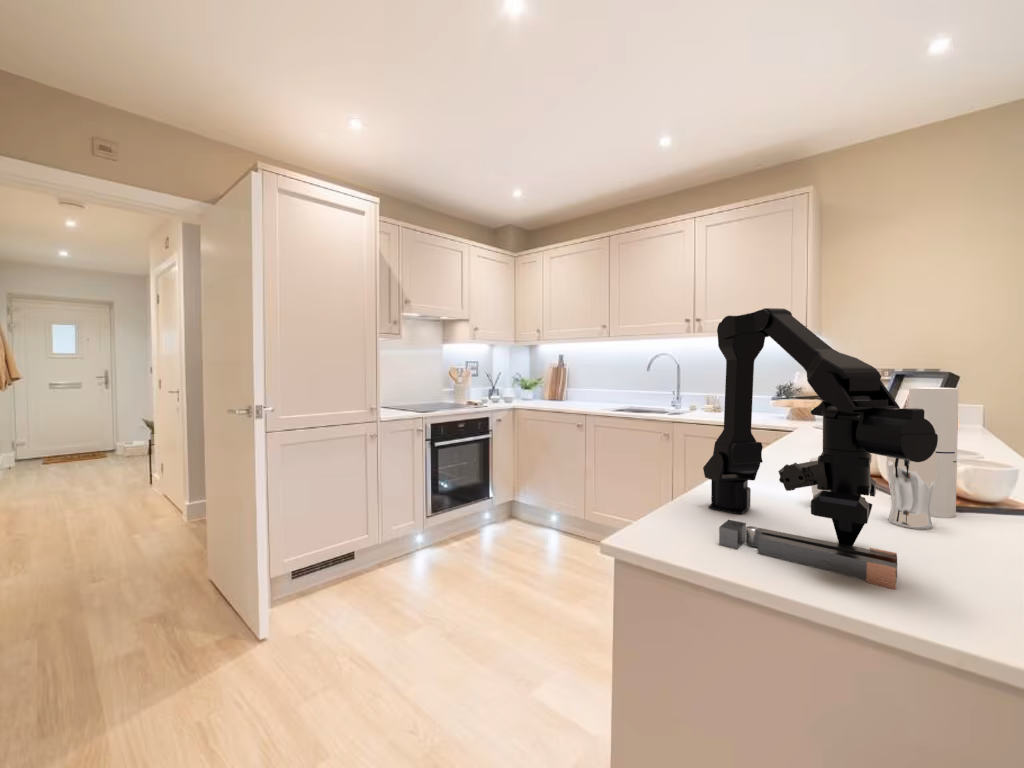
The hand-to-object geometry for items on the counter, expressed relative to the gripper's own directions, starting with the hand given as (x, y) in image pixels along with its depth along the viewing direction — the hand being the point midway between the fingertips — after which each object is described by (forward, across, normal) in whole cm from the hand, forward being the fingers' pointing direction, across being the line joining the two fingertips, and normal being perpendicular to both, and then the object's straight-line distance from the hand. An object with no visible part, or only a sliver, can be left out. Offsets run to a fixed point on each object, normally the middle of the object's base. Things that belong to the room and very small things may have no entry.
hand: (845, 550), depth 67 cm
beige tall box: (+3, -40, +10) cm, 41 cm away
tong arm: (+1, +1, -4) cm, 4 cm away
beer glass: (+2, -28, +7) cm, 29 cm away
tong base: (+2, +4, -5) cm, 7 cm away
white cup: (+2, -30, -5) cm, 30 cm away
